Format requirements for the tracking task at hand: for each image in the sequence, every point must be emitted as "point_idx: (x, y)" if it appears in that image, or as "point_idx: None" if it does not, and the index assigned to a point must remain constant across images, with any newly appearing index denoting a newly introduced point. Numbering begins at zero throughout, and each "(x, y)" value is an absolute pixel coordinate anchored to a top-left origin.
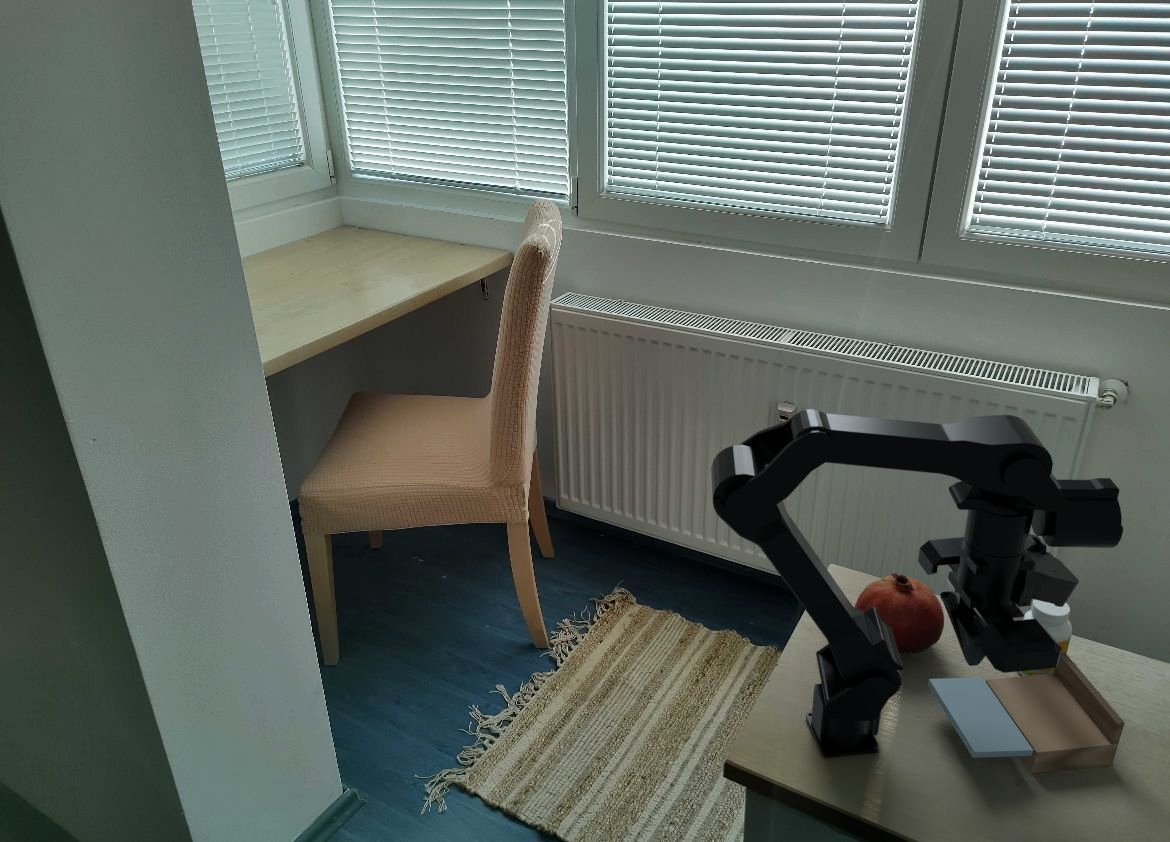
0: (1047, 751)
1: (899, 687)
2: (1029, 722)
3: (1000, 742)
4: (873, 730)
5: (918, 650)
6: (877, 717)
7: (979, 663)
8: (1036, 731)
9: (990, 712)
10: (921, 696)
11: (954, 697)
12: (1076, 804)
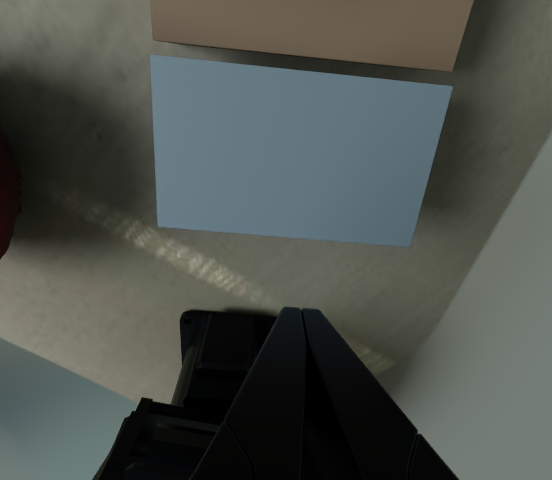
0: (462, 34)
1: (303, 473)
2: (352, 13)
3: (402, 165)
4: (256, 338)
5: (13, 160)
6: (251, 354)
7: (323, 315)
8: (388, 14)
9: (298, 125)
10: (152, 185)
11: (231, 197)
12: (537, 18)
